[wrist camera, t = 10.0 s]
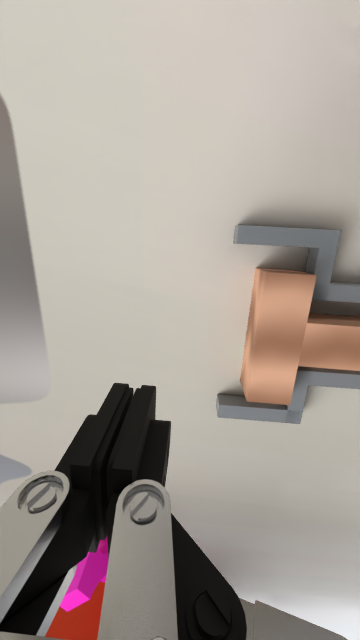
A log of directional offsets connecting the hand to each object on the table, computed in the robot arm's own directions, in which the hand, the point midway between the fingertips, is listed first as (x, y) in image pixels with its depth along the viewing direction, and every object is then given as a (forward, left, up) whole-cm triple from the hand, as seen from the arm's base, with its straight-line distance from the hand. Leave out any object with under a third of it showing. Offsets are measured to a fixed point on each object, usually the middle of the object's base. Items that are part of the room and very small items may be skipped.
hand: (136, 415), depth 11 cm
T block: (+1, +14, -17) cm, 22 cm away
